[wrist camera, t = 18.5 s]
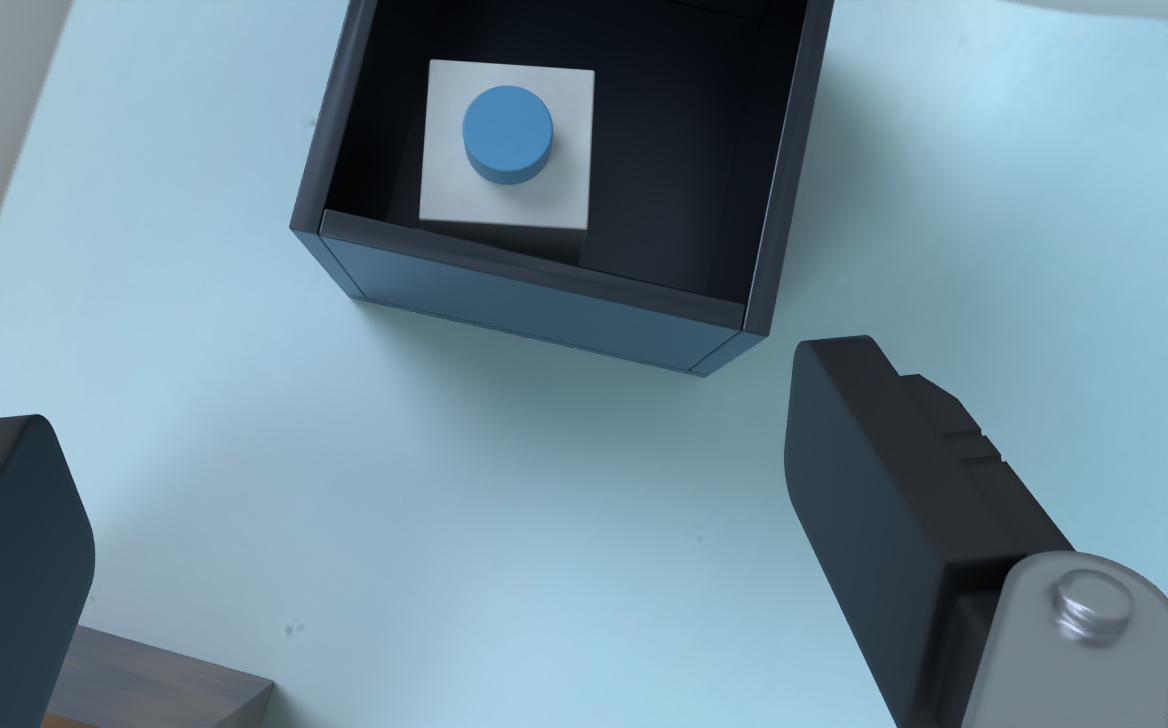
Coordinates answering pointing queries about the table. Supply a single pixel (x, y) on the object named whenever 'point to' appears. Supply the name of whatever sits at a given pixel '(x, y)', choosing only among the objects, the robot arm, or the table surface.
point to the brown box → (149, 688)
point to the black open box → (617, 177)
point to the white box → (508, 156)
